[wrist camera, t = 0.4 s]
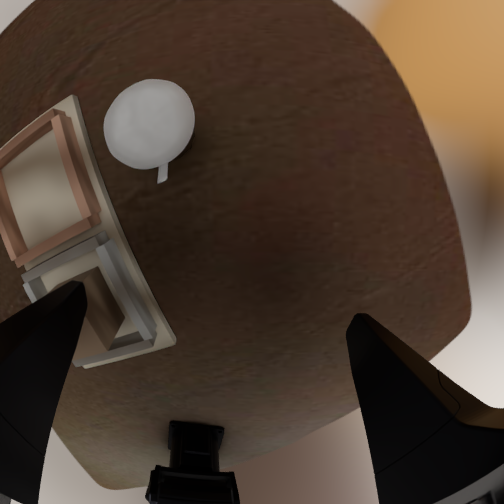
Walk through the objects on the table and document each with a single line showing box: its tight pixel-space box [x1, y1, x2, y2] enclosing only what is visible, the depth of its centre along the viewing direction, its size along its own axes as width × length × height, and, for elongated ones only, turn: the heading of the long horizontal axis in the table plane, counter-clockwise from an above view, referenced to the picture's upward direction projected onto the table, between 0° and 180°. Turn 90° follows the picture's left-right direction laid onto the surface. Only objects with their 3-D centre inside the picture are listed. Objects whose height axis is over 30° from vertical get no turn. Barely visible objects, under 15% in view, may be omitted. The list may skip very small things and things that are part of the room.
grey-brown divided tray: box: [0, 95, 177, 369], centre depth 18 cm, size 23×11×6 cm, turn 19°
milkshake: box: [104, 79, 195, 184], centre depth 15 cm, size 4×5×10 cm
